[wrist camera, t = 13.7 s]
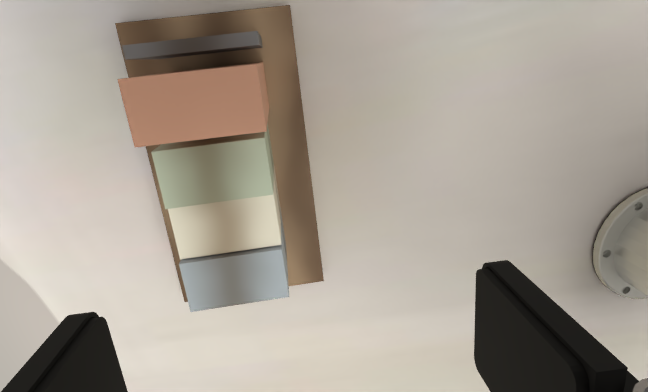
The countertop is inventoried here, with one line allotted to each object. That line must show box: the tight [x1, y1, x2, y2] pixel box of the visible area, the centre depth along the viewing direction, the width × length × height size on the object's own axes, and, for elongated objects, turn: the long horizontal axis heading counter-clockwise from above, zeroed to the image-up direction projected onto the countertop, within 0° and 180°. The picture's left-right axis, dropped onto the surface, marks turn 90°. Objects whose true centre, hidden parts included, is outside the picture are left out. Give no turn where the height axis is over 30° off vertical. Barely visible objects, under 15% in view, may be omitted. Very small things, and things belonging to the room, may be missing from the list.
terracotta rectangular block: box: [118, 62, 269, 147], centre depth 28 cm, size 7×4×12 cm, turn 96°
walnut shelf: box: [115, 5, 324, 312], centre depth 32 cm, size 13×24×10 cm, turn 6°
